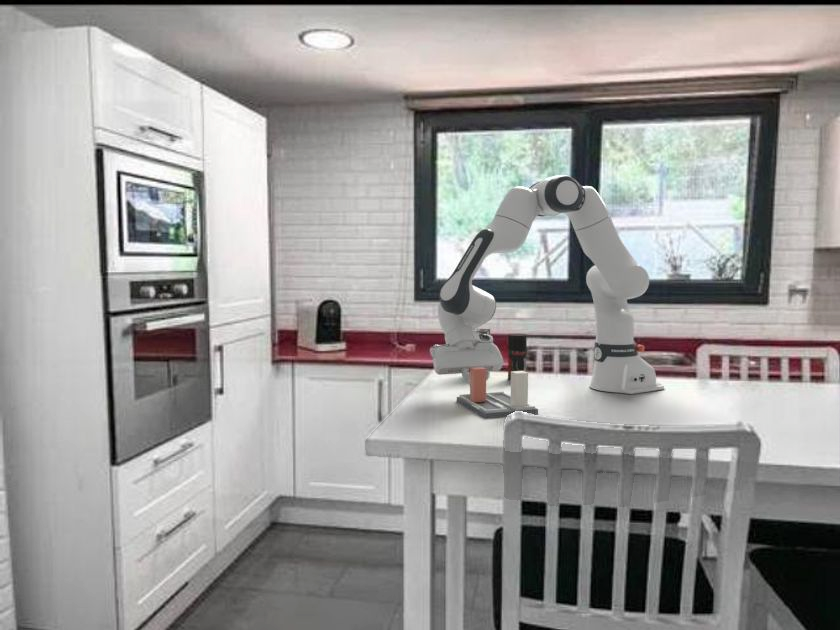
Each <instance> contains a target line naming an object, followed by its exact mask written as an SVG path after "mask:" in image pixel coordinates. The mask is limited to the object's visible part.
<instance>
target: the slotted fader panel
mask: <svg viewBox="0 0 840 630" xmlns="http://www.w3.org/2000/svg"><path fill="white" fill-rule="evenodd" d="M456 402H457V403H458V404H461V405H462V406H463V407H466V408H467V409H469V410H471V411H472V412H474V413H476V414H477V415H479V416H480V417H482V418H484V419H494V418H503V417H504V418H505V416H506V417H508V416H507V415H509V414H511V413H513V412H515V411H523V412H527V413H532V414H531V415H538V414H539V409H538V408H537V407H536V406H535V405H531V404H529V403H528V406H526V407H514V406H512V405H511V394H508V393H506V392H505V391H492V392H491V391H490V392H486V401H484V402H473V401H471V400H470V393H465V394H459V396H456Z"/></svg>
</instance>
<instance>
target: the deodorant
mask: <svg viewBox="0 0 840 630" xmlns="http://www.w3.org/2000/svg"><path fill="white" fill-rule="evenodd" d="M527 335H528V334H526V333H508V337H507V338H508V345H507V346H508V347H507V350H508V351H507V357H508V359H507V361H508V362H507V368H508V369H507V380H508V381H510V380H511V371H525V372H527V344H528V343H527Z"/></svg>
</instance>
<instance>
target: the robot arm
mask: <svg viewBox="0 0 840 630" xmlns="http://www.w3.org/2000/svg"><path fill="white" fill-rule="evenodd" d="M560 214H564V215H566V216H567V217H568V219H569V220H570V222H571V224H572V227H573V230H574V232H575V236H576V237H577V240H578V242H579V244H580V247H581V249H582V251H583V253H584V254H585V255H586V257H588V258H589V260H591V262H592V263H593V264H594V265H592V266H591V267H590V268H589V269H588V271H587V272H586V275H585V277H586V278H585V280H586V281H585V283H586V286H587V287H588V289H589V291H590V294H591V297H592V300H593V301H592V302H593V306H594V311H595V319H596V322H595V323H596V324H595V327H596V328H595V341H594V349H593V355H594V363H593V364H594V365H593V371H592V377H591V380H590V383H589V388H591V389H592V390H593V389H594V390H596V391H602V392H607V393H608V392H609V393H621V394H629V395H634V394H641V393H646V392H652V391H653V392H655V391H660V390H664V389H665V386H664V385H663V383H660V382H657V377H656V376H657V374H656V370H655V368H654V367H653V366H652V365H651V364H650V363H648V361H646V360H644V359H643V358H642V357H641V356H639V353H638V352H642V353H643V352H644V351H645V349H646V348H645V345H643V344H636V343H635V342H634V333H635V330H634V329H635V328H634V327H635V319H634V316H633V314H632V312H631V311H630V307H629V304H628V300H631V299H635V298H639V297H641V296H642V295H643V294H645V293H646V291H647V290H648V288H649V285H650V276H649V274H648V272H647V270H646V269H645V268H644V267H642V265H640V264H639V262H637V261H636V259H635V258H634V256H633V255H632V254H631V253H630V251H629V250H628V248H627V247H626V246H625V244H624V243H623V241H622V239H621V238H620V235H619V234H618V233H619V232H617V229H616V227H615V224H614V221H613V220H612V218H611V214H610V213H609V209H608V208H607V206H606V204H605V202H604V200H603V198H602V197H601V196H600V194H599V193H598V192H597V190H596V189H595V188H594V187H593V186H589V185H585V186H583V185H581V184H580V183H579V182H578V181H577V180H576V179H575V178H573V177H572V176H570V175H565V174H559V175H554V176H548V177H547V178H544V179H543V180H541V181H540V180H539V181H536V182H535V183H534V184H532V185H530V186H529V187H525V186H519V185H518V186H514V187H512V188H510V189H509V190H508V192H507V193H506V195H505V196H504V197H503V199H502V201H501V202H500V205H499V206H498V208H497V210H496V212H495V214H494V217H493V219H492V220H491V222H490V224H489V225H488V226H487V227H486V228H485V229H481V230H480V231H479V232H478V233H477V234H476V235H475V237H474V238H473V239H472V241H471V242H470V244H469V246H468V247H467V248H466V251H465V252H464V254H463V255H462V257H461V259H460V261H459V262H458V264H457V266H456V267H455V269H454V271H453V272H452V274H451V275H450V276H449V277H448V279H447V280H446V281H444V284H443V285H442V286H441V287H440V291H439V294H438V295H439V296H438V297H439V303H438V306H437V316H438V320H439V321H438V322H439V324H440V328H441V331H442V332H443V333H444V341H445V344H443V343H442V344H433V346H430V348H429V353H430V356H431V358H432V364H433V370H434V373H436V374H437V375H438V376H439V375H440V376H441V375H453V374H454V375H457V374H458V375H459V374H461V376H462V377H463V378H464V379H465V380H466V381H467V383H468V385H469V386H470V374H469V373H470V368H473V367H483V368H486V372H490V373H491V372H499V371H500V370H501V369H502V367H503V365H504V358H503V356H502V353H501V351H500V349H499V348H498V346H497V345H496V344H495V343H494V338H493V336H492V335H491V334H490V335H486V334H482V333H478V332H476V331H474V330H473V329H478V328H479V327H481V326H482V325H484V324H486V323H487V322H489V321H490V320H491V319H492V318H493V317H494V316H495V313H496V310H497V302H496V299H495V297H494V295H492V294H490V293H489V292H487V291H486V290H483V289H482V288H479V287H477V286H475V285H473V279H474V278H475V276H476V274H477V273H478V271H479V269H480V268H481V266H482V264H483V263H484V261H485V259H486V258H488V256H490V255H492V254H509V253H513V252H515V251H518V250H519V249H521V247H522V246H523V245H524V243H525V241H526V240H527V237H528V235H529V233H530V230H531V229H532V225H533V222H534V221H535V220H536V218H537V217H551V216H553V217H554V216H558V215H560Z"/></svg>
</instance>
